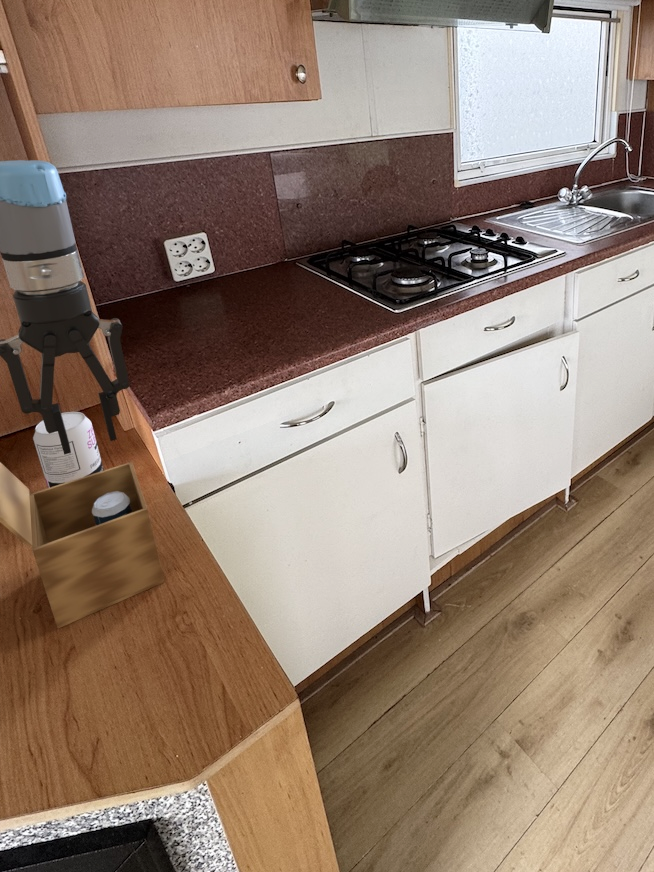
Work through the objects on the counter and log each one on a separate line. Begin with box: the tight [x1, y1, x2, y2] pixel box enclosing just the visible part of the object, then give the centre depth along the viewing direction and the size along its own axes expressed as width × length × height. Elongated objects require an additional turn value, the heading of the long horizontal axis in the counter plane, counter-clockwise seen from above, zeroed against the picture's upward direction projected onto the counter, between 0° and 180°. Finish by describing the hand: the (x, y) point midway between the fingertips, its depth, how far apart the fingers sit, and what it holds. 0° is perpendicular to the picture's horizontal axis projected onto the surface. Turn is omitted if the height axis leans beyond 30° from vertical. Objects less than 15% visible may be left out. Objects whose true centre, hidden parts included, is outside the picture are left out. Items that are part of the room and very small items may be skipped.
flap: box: [0, 461, 32, 548], centre depth 78 cm, size 6×14×1 cm
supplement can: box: [32, 411, 105, 488], centre depth 102 cm, size 8×8×15 cm
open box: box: [29, 461, 165, 629], centre depth 86 cm, size 13×14×14 cm
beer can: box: [92, 491, 132, 526], centre depth 87 cm, size 5×5×12 cm
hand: (90, 442), depth 81 cm, fingers open, 5 cm apart
